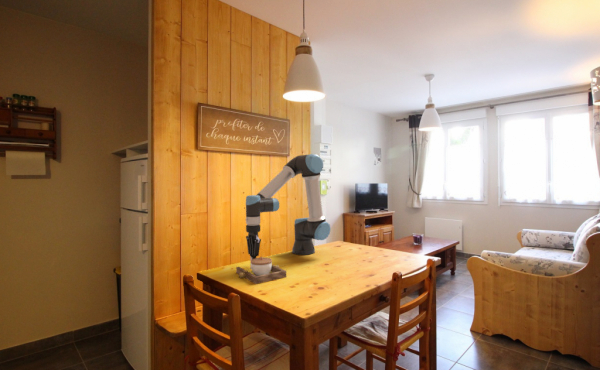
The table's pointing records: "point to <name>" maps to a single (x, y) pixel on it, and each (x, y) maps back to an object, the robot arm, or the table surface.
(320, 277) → the table surface
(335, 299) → the table surface
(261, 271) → the lidded jar
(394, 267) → the table surface
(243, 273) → the rail
